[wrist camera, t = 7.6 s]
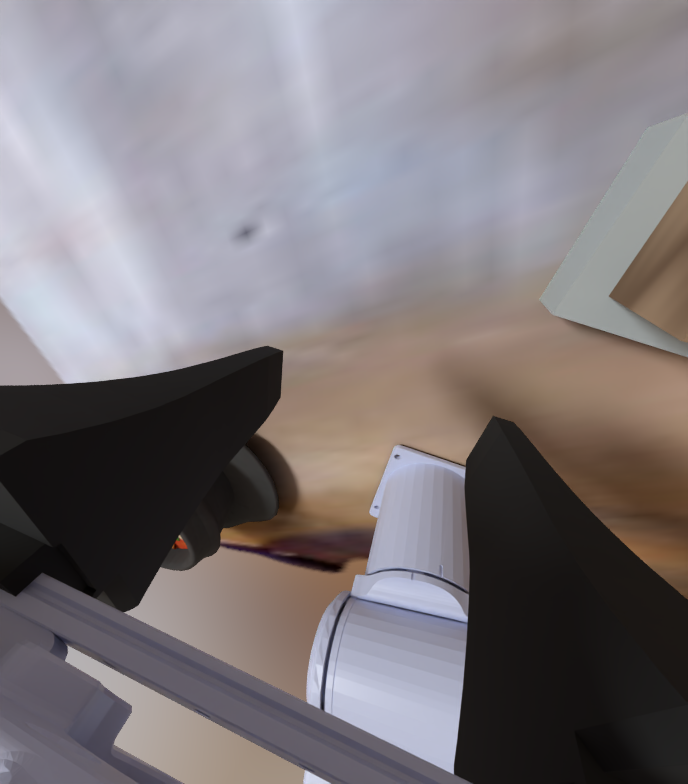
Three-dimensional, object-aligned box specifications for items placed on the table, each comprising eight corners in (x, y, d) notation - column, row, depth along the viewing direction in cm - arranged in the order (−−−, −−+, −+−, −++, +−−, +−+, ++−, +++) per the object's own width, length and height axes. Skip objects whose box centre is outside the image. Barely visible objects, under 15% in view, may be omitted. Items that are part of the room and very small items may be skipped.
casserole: (151, 501, 43) (95, 558, 36) (70, 392, 34) (-25, 439, 27) (306, 527, 34) (270, 607, 28) (252, 390, 25) (181, 458, 19)
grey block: (673, 339, 15) (714, 365, 13) (537, 297, 16) (552, 314, 14) (834, 175, 11) (939, 169, 9) (641, 129, 12) (689, 111, 10)
